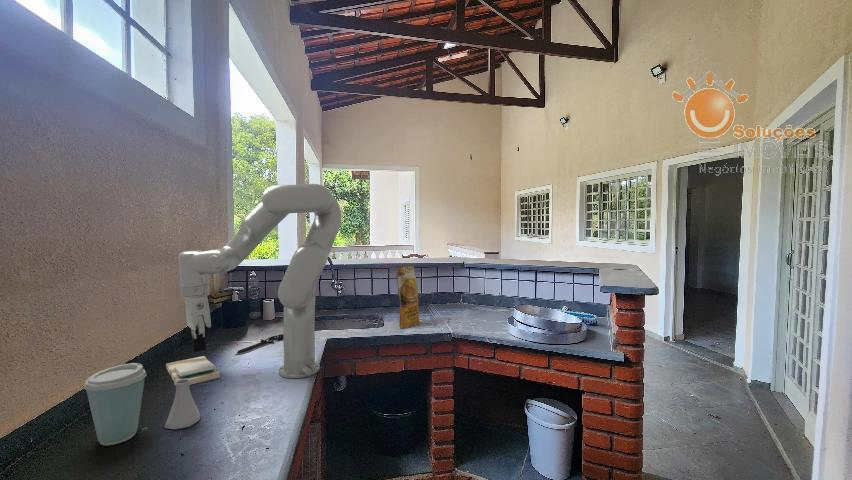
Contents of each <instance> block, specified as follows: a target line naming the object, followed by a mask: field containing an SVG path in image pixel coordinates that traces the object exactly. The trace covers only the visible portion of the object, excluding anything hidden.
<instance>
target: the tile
mask: <svg viewBox="0 0 852 480" xmlns="http://www.w3.org/2000/svg"><path fill="white" fill-rule="evenodd" d="M215 368H216V366H215V364H213V363H212V362H211V361H210V360H209V359H208V360H207V361H202V362H198V363H193V364H188V365H183V366H178V367H175V371H176V373H177V374H178V375H179V376H180V377H183V376H187V375H192V374H196V373H201V372H205V371H210V370H214V369H215Z"/></svg>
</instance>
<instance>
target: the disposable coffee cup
mask: <svg viewBox="0 0 852 480" xmlns="http://www.w3.org/2000/svg"><path fill="white" fill-rule="evenodd" d="M146 377H147V372H146V370H145V368H144V366H143V364H141V363H137V362H130V363H124V364H123V363H122V364H120V365H115V366H111V367H108V368H106V369H103V370H100V371H97V372H95V373H93V374H92V375H91V376H88V378H87V379H86V380H85V381H84V390H86V394H87V400H88V403H89V409H90V411H91V417H92V420H93V425H94V429H95V434H96V438H97V442H99V444H100V446H101V445H102V446H105V447H106V446H113V445H116V444H120V443H123V442H124V443H125V442H126V441H128V440H131V439H132V438H133V437H134V436H135V435H136V434H137V431H138V430H139V429H138V427H139V420H140V414H141V407H142V401H143V400H142V399H143V392H144V386H145V380H146V379H145V378H146Z"/></svg>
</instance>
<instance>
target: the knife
mask: <svg viewBox="0 0 852 480" xmlns="http://www.w3.org/2000/svg"><path fill="white" fill-rule="evenodd" d="M268 340H269V341H268ZM275 341H277V342H280V341H284V333H282V334H278V335H277V334H276V335H272V336H269V337H268V338H266V339H260V342H258V343H255V344H253V345H250V346H246V347H245V348H242V349H239V350H238V351H236V353H235V354H234V356H238V355H244V354H247V353H250V352H252V351H255V350H257V349H260V348H262V347H265V346H267V345H271V344H272V345H274V344H275Z"/></svg>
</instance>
